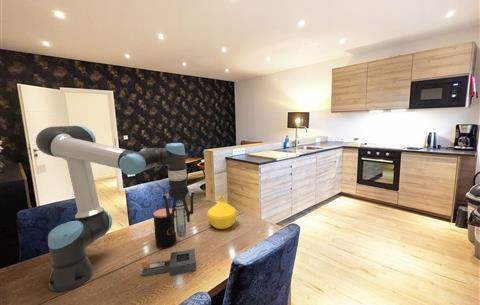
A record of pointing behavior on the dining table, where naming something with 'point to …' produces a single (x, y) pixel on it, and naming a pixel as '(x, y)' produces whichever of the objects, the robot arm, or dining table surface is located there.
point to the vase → (222, 214)
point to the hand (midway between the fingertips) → (181, 229)
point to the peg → (180, 219)
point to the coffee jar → (164, 229)
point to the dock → (176, 264)
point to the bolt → (150, 265)
